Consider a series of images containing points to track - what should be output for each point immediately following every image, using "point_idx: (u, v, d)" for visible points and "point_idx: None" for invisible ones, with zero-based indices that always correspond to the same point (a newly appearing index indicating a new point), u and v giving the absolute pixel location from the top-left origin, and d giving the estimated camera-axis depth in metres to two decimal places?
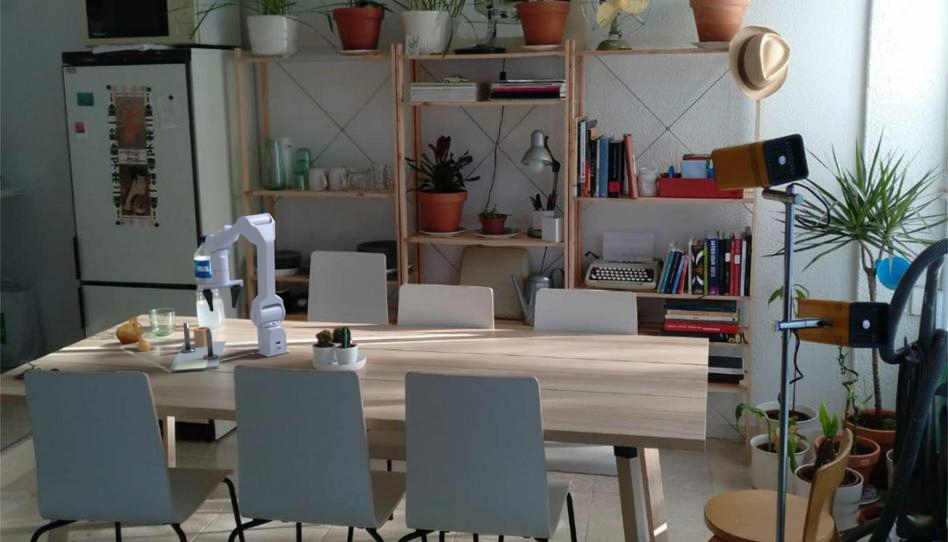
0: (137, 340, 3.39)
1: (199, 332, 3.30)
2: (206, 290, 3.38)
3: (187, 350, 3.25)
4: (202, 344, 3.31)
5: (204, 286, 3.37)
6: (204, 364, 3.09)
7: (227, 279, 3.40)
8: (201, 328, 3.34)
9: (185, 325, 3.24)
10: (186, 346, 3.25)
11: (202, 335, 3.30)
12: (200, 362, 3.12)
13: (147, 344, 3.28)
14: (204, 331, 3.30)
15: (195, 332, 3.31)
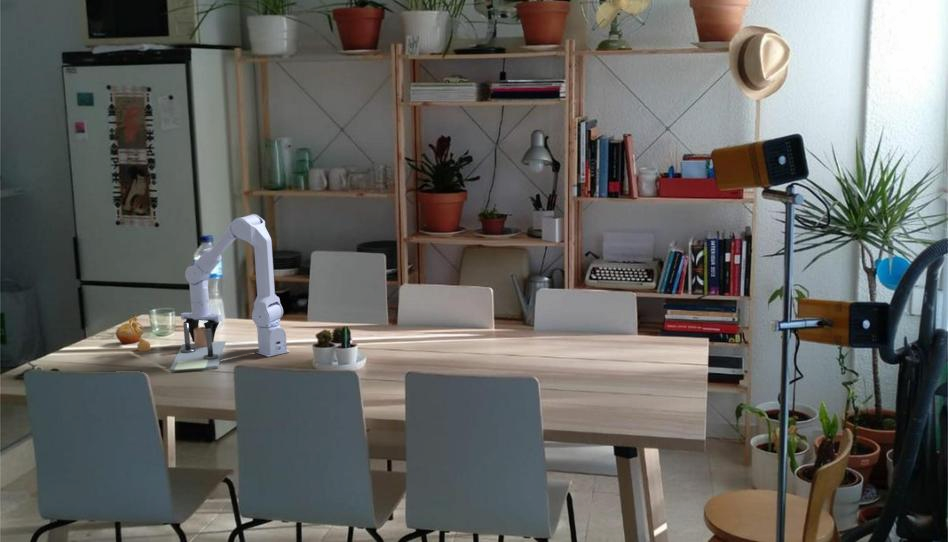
0: (137, 340, 3.39)
1: (199, 332, 3.30)
2: (186, 319, 3.33)
3: (187, 350, 3.25)
4: (202, 344, 3.31)
5: (183, 315, 3.33)
6: (204, 364, 3.09)
7: (200, 312, 3.29)
8: (201, 328, 3.34)
9: (185, 325, 3.24)
10: (186, 346, 3.25)
11: (202, 335, 3.30)
12: (200, 362, 3.12)
13: (147, 344, 3.28)
14: (204, 331, 3.30)
15: (195, 332, 3.31)
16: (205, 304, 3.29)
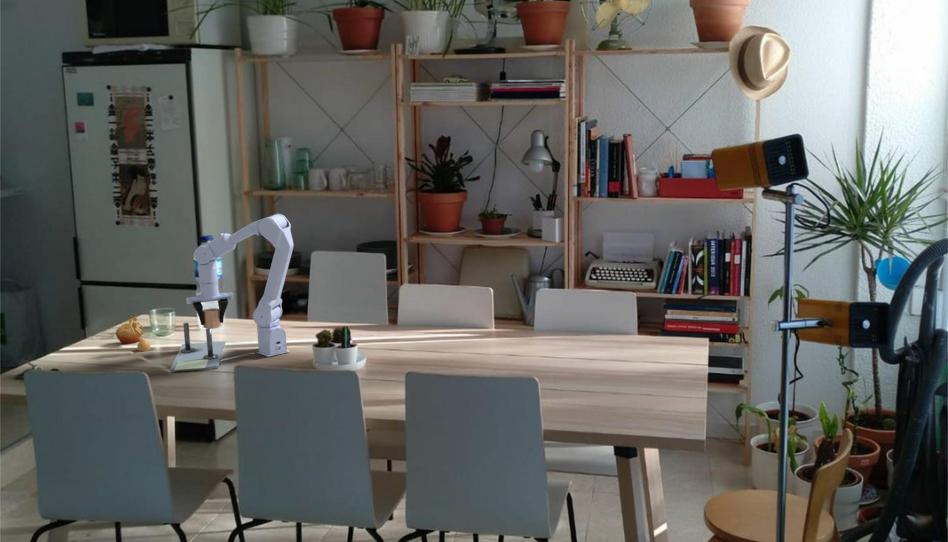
0: (137, 340, 3.39)
1: (214, 313, 3.26)
2: (194, 303, 3.24)
3: (187, 350, 3.25)
4: (217, 325, 3.27)
5: (191, 299, 3.23)
6: (204, 364, 3.09)
7: (216, 292, 3.25)
8: (207, 310, 3.28)
9: (185, 325, 3.24)
10: (186, 346, 3.25)
11: (217, 315, 3.26)
12: (200, 362, 3.12)
13: (147, 344, 3.28)
14: (218, 311, 3.27)
15: (209, 314, 3.25)
16: (217, 283, 3.26)
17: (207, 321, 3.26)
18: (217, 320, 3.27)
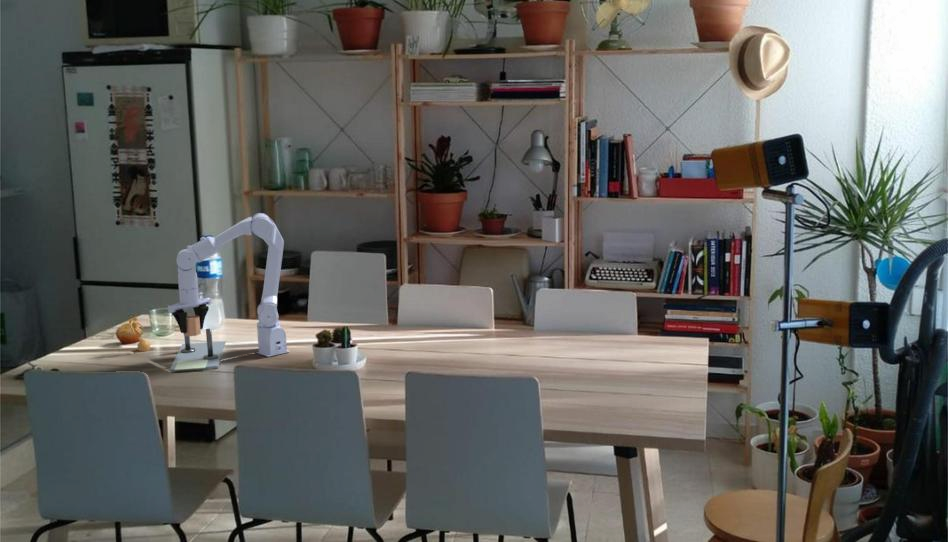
0: (137, 340, 3.39)
1: (197, 319, 3.17)
2: (177, 311, 3.13)
3: (187, 350, 3.25)
4: (199, 331, 3.18)
5: (175, 307, 3.12)
6: (204, 364, 3.09)
7: (198, 298, 3.16)
8: None
9: None
10: (186, 346, 3.25)
11: (199, 322, 3.18)
12: (200, 362, 3.12)
13: (147, 344, 3.28)
14: None
15: (192, 321, 3.16)
16: None
17: (190, 328, 3.16)
18: (199, 327, 3.18)
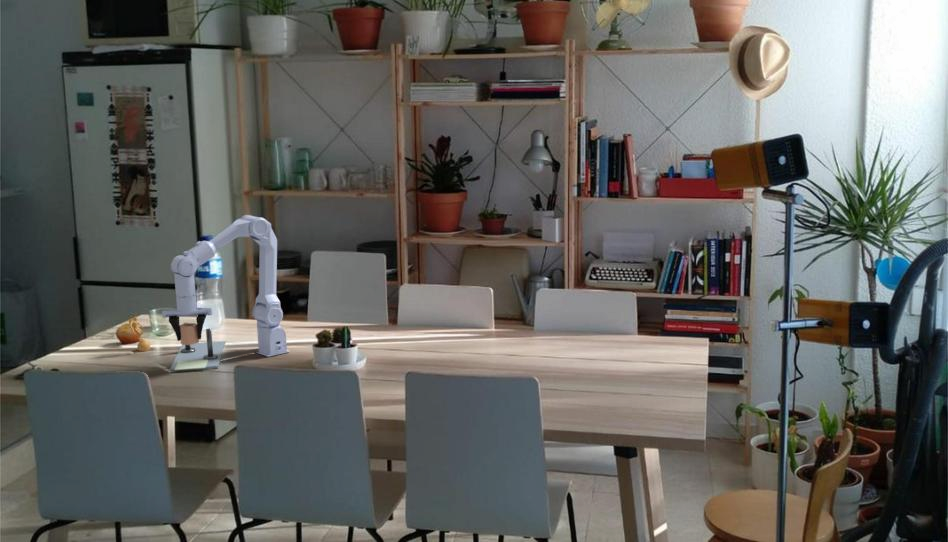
0: (137, 340, 3.39)
1: (189, 329, 3.06)
2: (169, 317, 3.06)
3: (187, 350, 3.25)
4: (192, 341, 3.07)
5: (166, 312, 3.05)
6: (204, 364, 3.09)
7: (191, 307, 3.05)
8: (185, 325, 3.09)
9: None
10: (186, 346, 3.25)
11: (193, 332, 3.06)
12: (200, 362, 3.12)
13: (147, 344, 3.28)
14: (194, 327, 3.06)
15: (184, 329, 3.05)
16: (194, 297, 3.06)
17: (182, 337, 3.06)
18: (193, 336, 3.06)
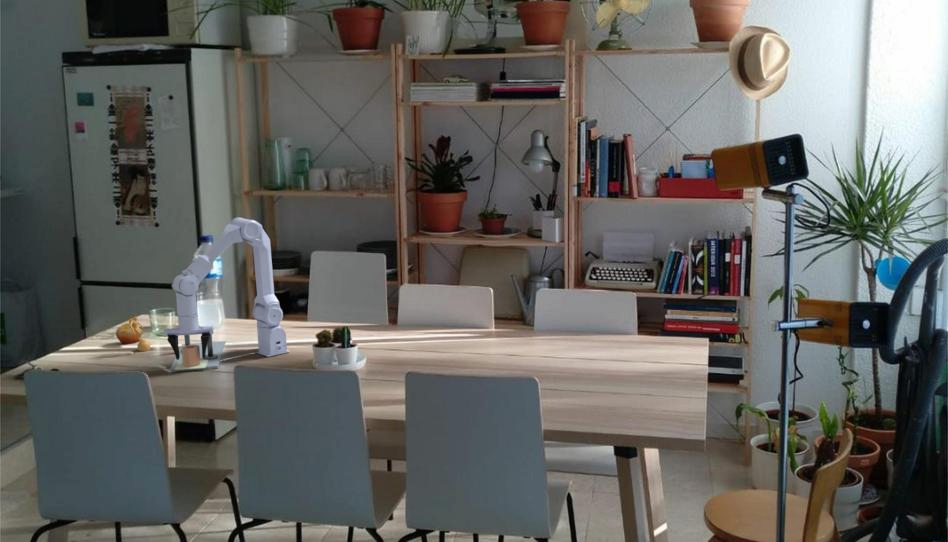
0: (137, 340, 3.39)
1: (191, 351, 3.07)
2: (170, 336, 3.07)
3: None
4: (194, 363, 3.08)
5: (168, 331, 3.06)
6: (204, 364, 3.09)
7: (193, 326, 3.06)
8: (187, 347, 3.10)
9: None
10: None
11: (194, 353, 3.07)
12: None
13: (147, 344, 3.28)
14: (196, 349, 3.08)
15: (186, 351, 3.07)
16: (196, 316, 3.07)
17: (184, 359, 3.07)
18: (194, 358, 3.08)
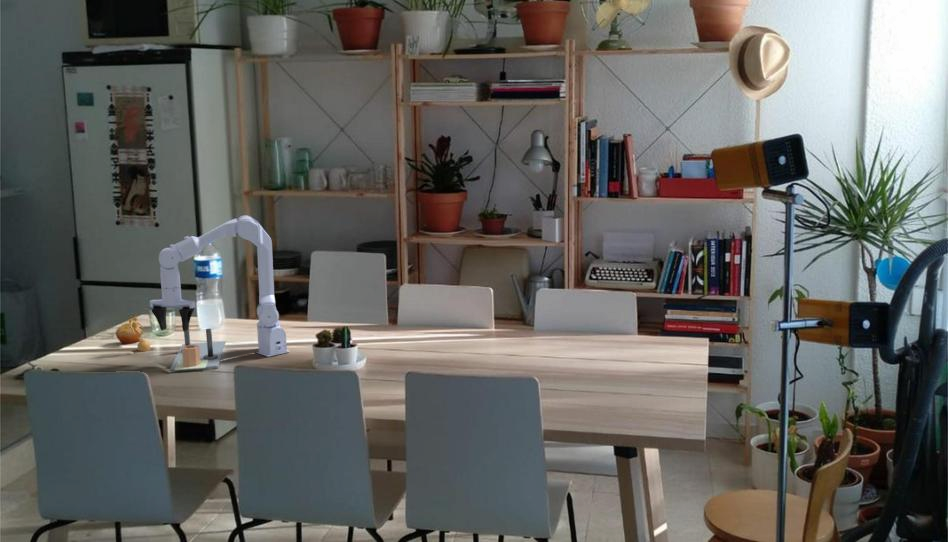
0: (137, 340, 3.39)
1: (191, 351, 3.07)
2: (155, 307, 3.15)
3: None
4: (194, 363, 3.08)
5: (153, 302, 3.15)
6: (204, 364, 3.09)
7: (172, 298, 3.12)
8: (187, 347, 3.10)
9: None
10: None
11: (194, 353, 3.07)
12: None
13: (147, 344, 3.28)
14: (196, 349, 3.08)
15: (186, 351, 3.07)
16: (177, 290, 3.12)
17: (184, 359, 3.07)
18: (194, 358, 3.08)
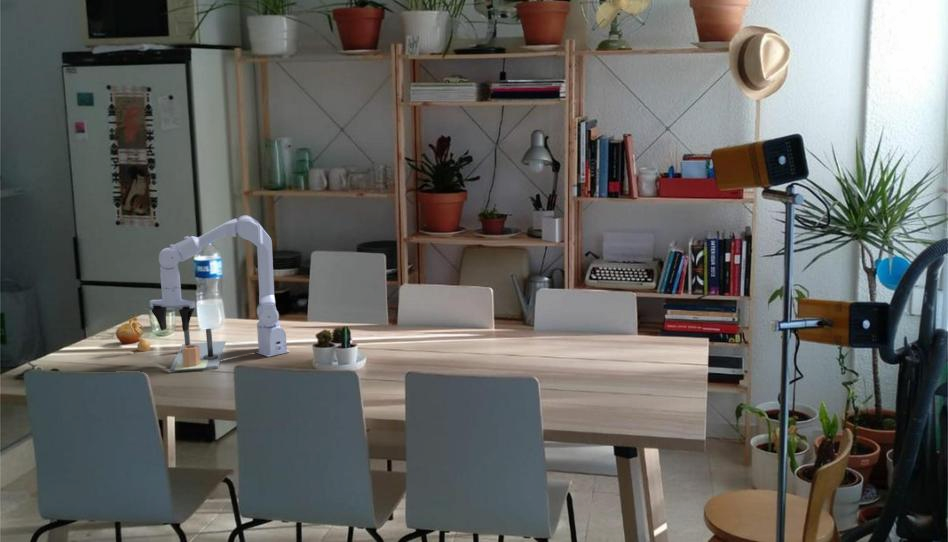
0: (137, 340, 3.39)
1: (191, 351, 3.07)
2: (155, 307, 3.15)
3: None
4: (194, 363, 3.08)
5: (153, 302, 3.15)
6: (204, 364, 3.09)
7: (172, 298, 3.12)
8: (187, 347, 3.10)
9: None
10: None
11: (194, 353, 3.07)
12: None
13: (147, 344, 3.28)
14: (196, 349, 3.08)
15: (186, 351, 3.07)
16: (177, 290, 3.12)
17: (184, 359, 3.07)
18: (194, 358, 3.08)
